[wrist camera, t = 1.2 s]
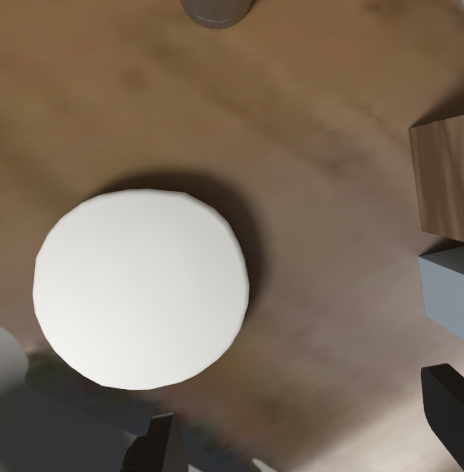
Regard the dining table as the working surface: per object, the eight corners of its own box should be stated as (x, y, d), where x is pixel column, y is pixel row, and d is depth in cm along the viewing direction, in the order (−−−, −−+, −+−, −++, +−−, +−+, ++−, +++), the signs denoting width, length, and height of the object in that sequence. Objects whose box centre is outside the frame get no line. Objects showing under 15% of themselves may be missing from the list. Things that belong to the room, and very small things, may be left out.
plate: (90, 427, 47) (-20, 250, 43) (109, 396, 53) (15, 238, 49) (285, 350, 43) (187, 146, 39) (281, 326, 50) (196, 148, 45)
